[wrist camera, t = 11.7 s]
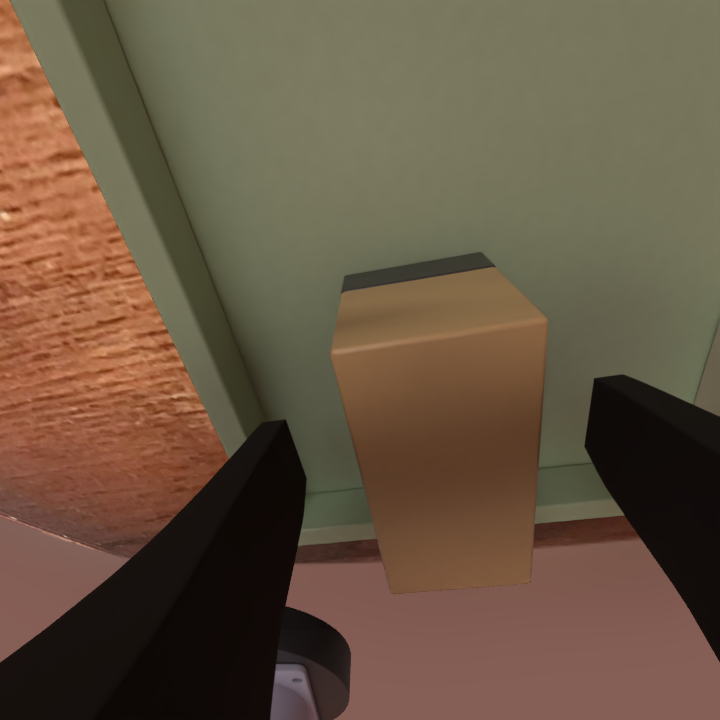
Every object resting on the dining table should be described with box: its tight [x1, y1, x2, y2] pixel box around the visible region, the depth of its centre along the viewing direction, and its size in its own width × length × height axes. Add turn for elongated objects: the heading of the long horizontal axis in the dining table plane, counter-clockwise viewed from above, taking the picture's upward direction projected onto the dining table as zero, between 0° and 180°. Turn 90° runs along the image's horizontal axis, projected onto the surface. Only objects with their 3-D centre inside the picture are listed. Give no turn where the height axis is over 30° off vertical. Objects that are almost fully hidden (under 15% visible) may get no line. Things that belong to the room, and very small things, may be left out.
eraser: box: [330, 252, 549, 594], centre depth 9 cm, size 7×3×4 cm, turn 10°
